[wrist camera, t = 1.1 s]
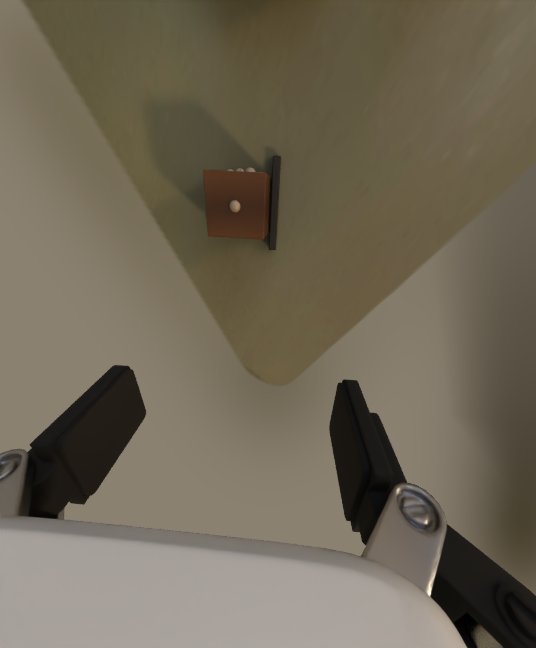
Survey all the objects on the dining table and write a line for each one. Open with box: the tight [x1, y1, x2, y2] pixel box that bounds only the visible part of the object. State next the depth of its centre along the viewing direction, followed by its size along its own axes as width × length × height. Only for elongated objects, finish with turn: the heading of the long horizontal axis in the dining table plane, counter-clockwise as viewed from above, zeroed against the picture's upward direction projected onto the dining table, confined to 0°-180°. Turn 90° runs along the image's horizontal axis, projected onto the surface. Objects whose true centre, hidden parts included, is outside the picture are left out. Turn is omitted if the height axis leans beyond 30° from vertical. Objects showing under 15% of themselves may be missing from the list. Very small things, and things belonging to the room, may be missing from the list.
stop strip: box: [269, 156, 281, 250], centre depth 28 cm, size 10×1×1 cm, turn 178°
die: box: [203, 167, 270, 239], centre depth 26 cm, size 6×6×6 cm
